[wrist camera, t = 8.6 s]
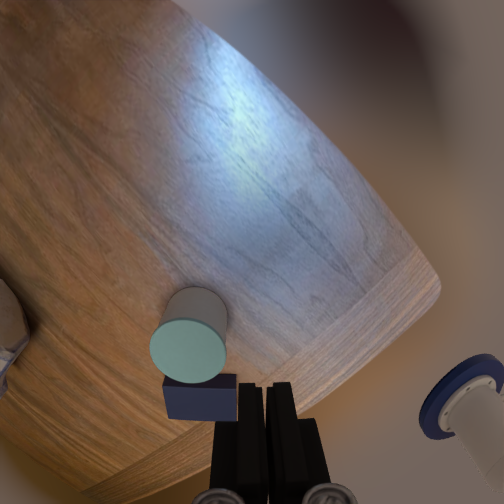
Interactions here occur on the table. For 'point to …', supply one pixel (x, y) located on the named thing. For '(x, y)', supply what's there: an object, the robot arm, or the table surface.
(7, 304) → the potted plant
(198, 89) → the table surface
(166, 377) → the dark rectangular block
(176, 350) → the beige cylinder teal cap
